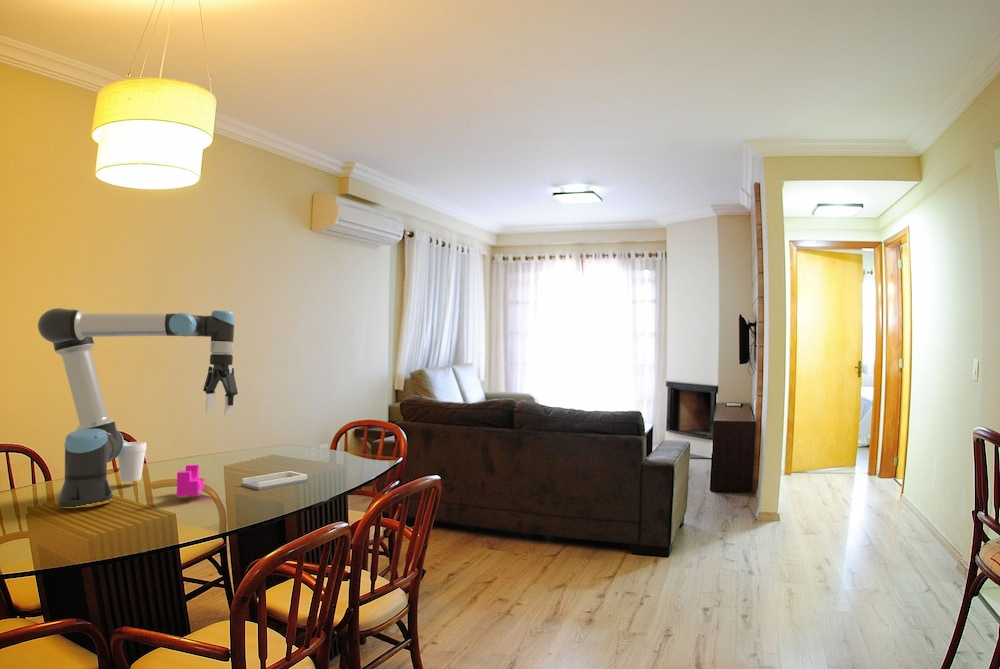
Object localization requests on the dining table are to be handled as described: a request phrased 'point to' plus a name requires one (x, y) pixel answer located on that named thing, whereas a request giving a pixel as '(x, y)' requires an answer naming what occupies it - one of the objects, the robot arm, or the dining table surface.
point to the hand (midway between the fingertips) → (219, 413)
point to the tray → (274, 480)
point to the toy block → (189, 481)
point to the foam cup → (131, 461)
